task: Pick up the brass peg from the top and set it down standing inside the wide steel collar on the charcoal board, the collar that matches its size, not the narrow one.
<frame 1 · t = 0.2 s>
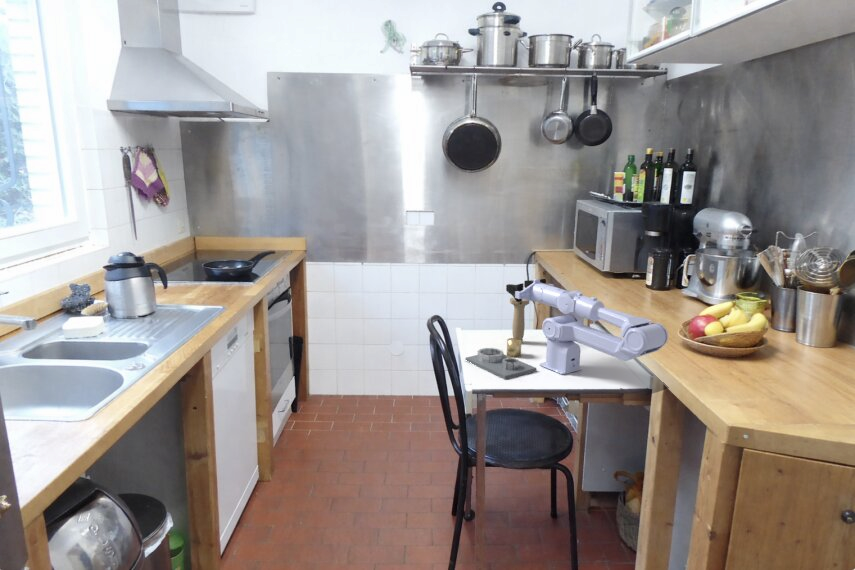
hand: (516, 285, 179), 21 cm above the table, tool horizontal, fingers open, 7 cm apart
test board: (499, 365, 168), on the table
wide collar: (490, 361, 172), resting on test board
handle: (517, 343, 191), on the table
brass peg: (513, 355, 178), on the table
narrow collar: (510, 370, 165), resting on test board
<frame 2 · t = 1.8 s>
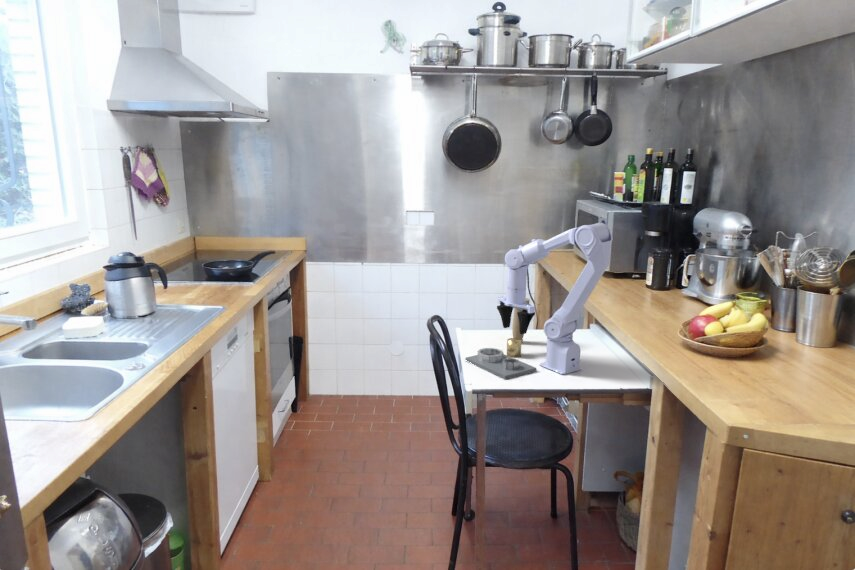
hand: (514, 330, 176), 8 cm above the table, tool pointing down, fingers open, 7 cm apart
nothing on the table moved.
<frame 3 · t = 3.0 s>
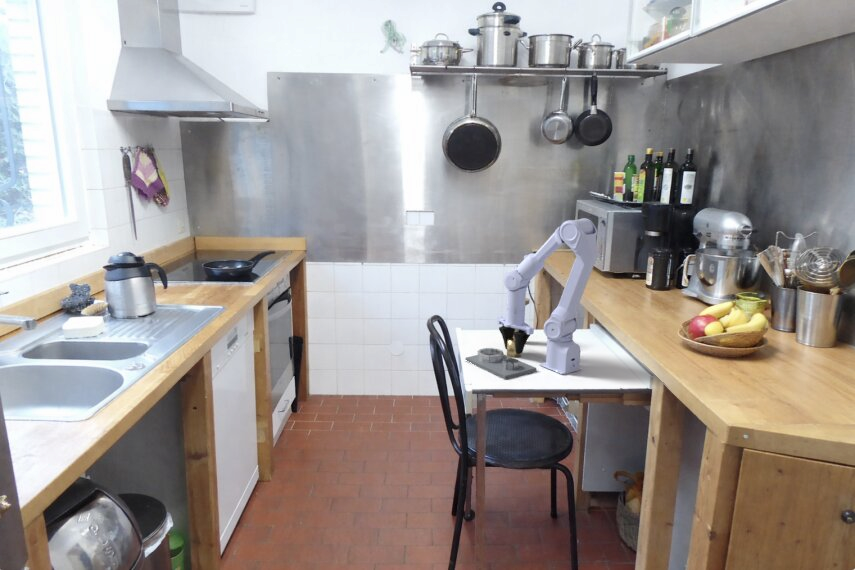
hand: (513, 350, 178), 1 cm above the table, tool pointing down, fingers closed on brass peg, 4 cm apart
brass peg: (513, 355, 178), on the table, touching gripper
everything else where it was.
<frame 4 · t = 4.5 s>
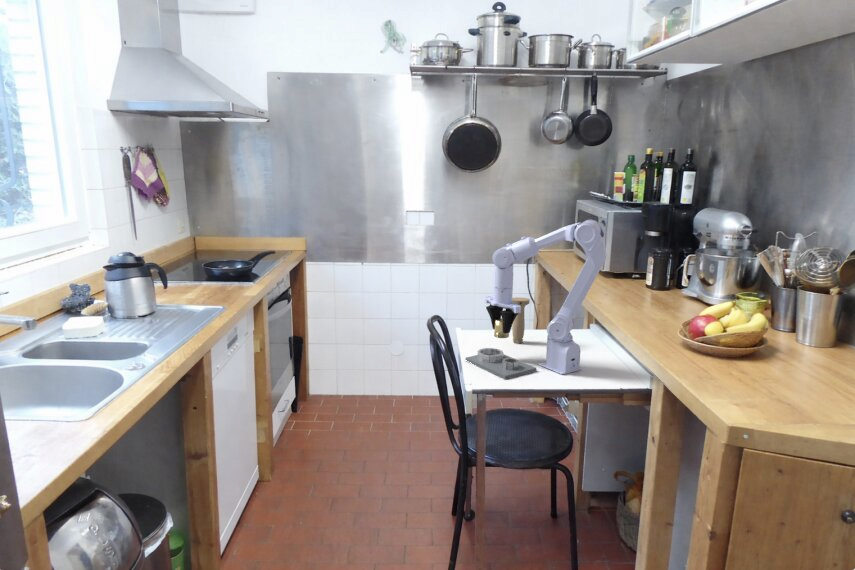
hand: (501, 330, 173), 9 cm above the table, tool pointing down, fingers closed on brass peg, 4 cm apart
brass peg: (501, 336, 173), point 7 cm above the table, touching gripper
everything else where it was.
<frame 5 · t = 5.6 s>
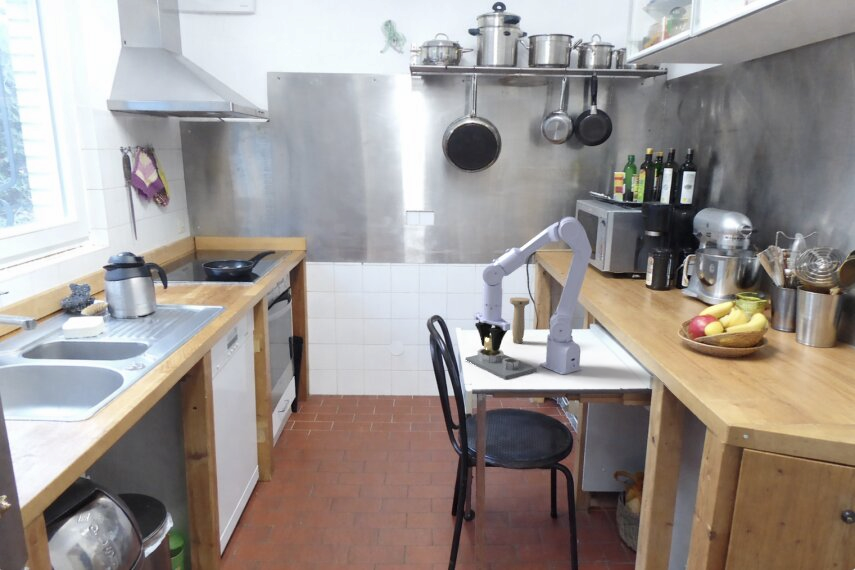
hand: (490, 347, 171), 4 cm above the table, tool pointing down, fingers closed on brass peg, 4 cm apart
brass peg: (491, 353, 172), point 3 cm above the table, touching gripper
everything else where it was.
when the fingers open (4 cm above the table, at t = 6.2 s): brass peg drops 1 cm, resting on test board.
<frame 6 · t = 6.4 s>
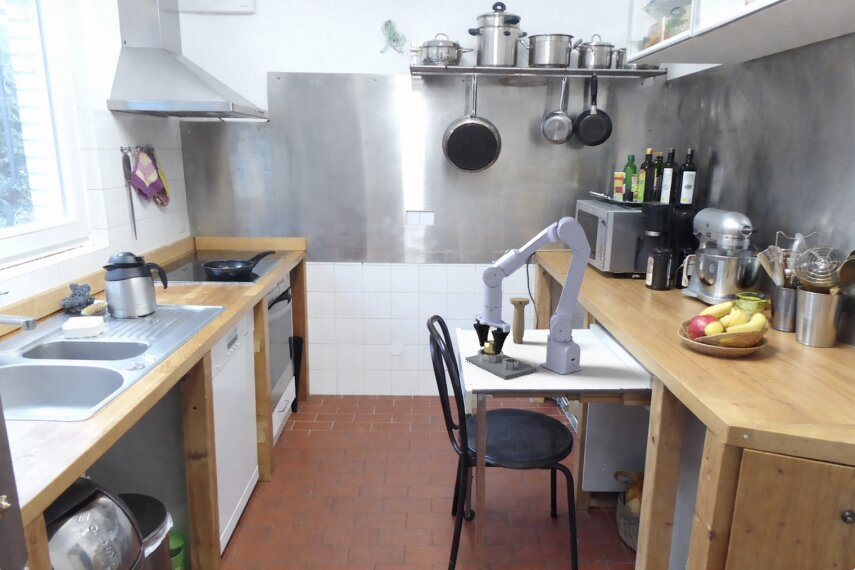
hand: (490, 349, 171), 4 cm above the table, tool pointing down, fingers open, 6 cm apart
brass peg: (491, 358, 172), point 1 cm above the table, touching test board
everything else where it was.
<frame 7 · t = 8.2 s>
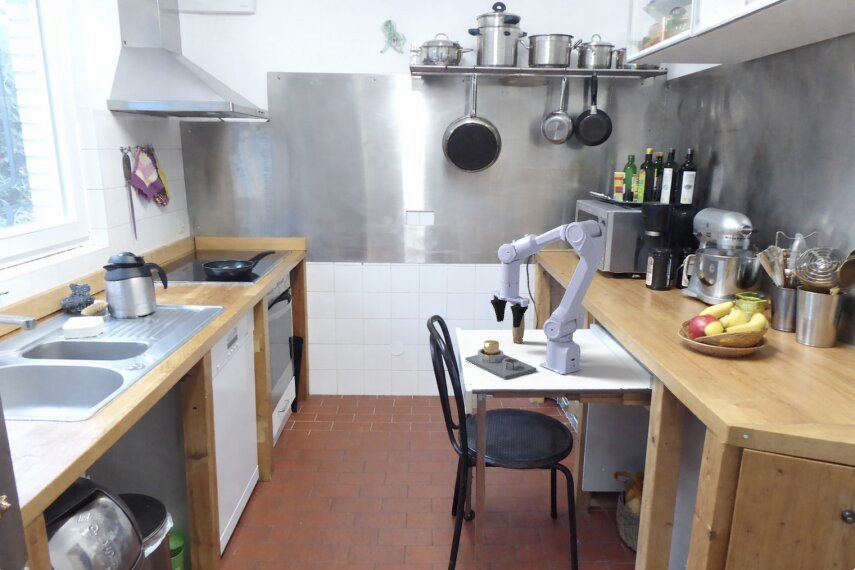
hand: (508, 324, 178), 9 cm above the table, tool pointing down, fingers open, 7 cm apart
nothing on the table moved.
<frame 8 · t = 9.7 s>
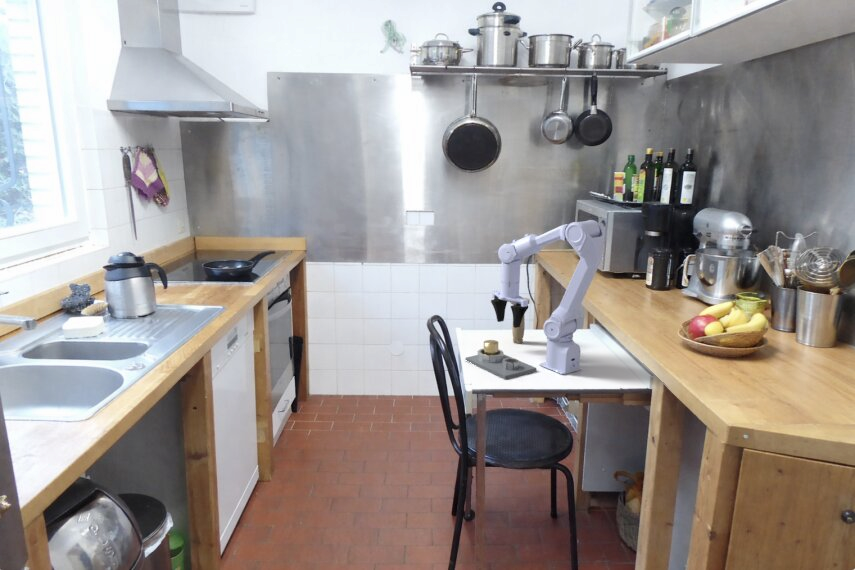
hand: (508, 324, 178), 9 cm above the table, tool pointing down, fingers open, 7 cm apart
nothing on the table moved.
at the end: brass peg 0.3 cm off-centre on the wide collar, point 1.1 cm above the wide collar's base; brass peg tilted 2°; the gripper is holding nothing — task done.
